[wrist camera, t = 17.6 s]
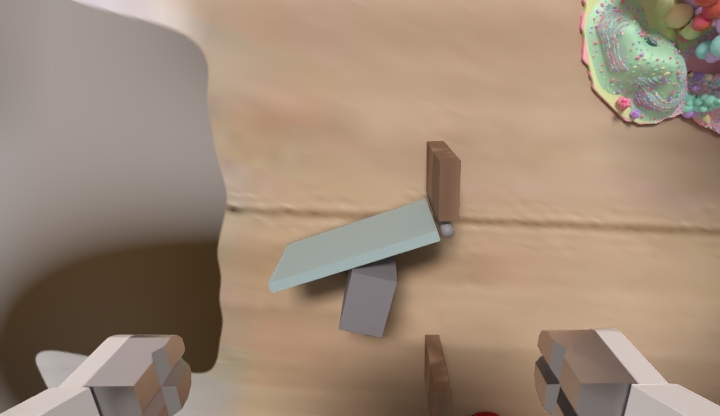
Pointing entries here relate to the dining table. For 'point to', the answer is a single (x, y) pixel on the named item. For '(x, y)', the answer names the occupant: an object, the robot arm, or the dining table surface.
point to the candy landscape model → (655, 58)
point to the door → (358, 244)
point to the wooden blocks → (446, 206)
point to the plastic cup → (485, 414)
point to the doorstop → (369, 297)
